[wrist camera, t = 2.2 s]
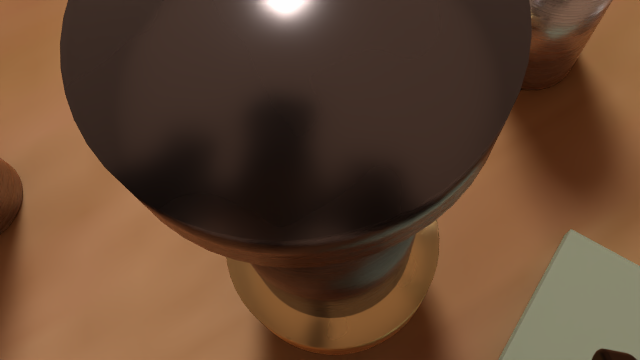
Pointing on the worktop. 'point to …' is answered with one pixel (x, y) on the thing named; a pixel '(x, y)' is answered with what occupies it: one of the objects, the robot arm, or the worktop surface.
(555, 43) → the spacer field
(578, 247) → the mat
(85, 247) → the worktop surface
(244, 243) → the dark brown cylinder
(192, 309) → the worktop surface
